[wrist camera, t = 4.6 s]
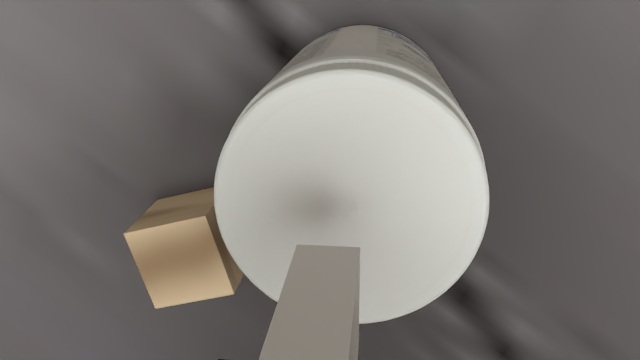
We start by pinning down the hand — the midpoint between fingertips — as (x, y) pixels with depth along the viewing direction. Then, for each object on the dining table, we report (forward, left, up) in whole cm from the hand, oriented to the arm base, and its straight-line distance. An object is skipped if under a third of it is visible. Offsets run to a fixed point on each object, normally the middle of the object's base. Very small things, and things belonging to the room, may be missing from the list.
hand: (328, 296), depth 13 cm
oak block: (-8, +10, -20) cm, 24 cm away
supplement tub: (0, 0, -20) cm, 20 cm away
